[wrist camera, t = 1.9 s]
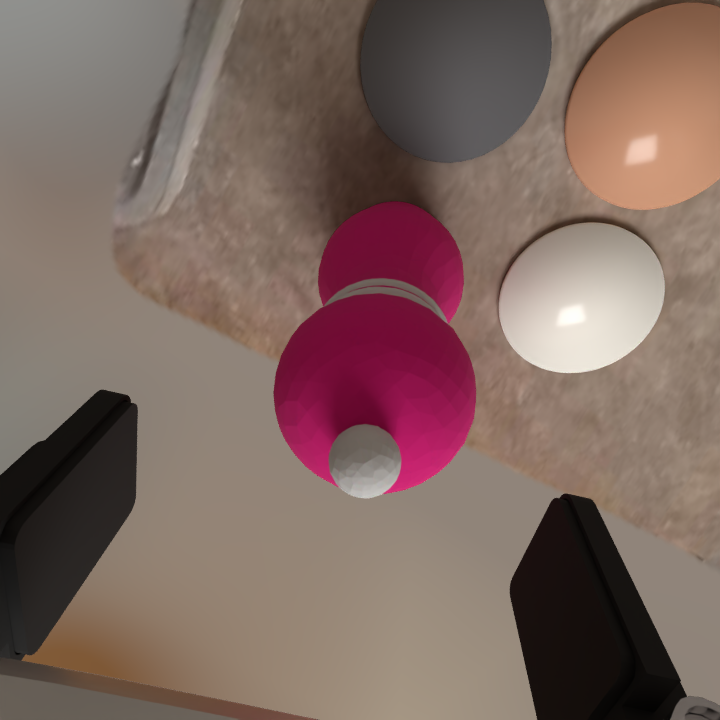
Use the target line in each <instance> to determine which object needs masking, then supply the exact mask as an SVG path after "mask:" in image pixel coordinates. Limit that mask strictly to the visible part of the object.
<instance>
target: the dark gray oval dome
mask: <svg viewBox="0 0 720 720" xmlns="http://www.w3.org/2000/svg"><path fill="white" fill-rule="evenodd" d="M551 45H552V42H551V28H550V23H549V17H548V13H547V10H546V7H545V4H544V1H543V0H377V2H376V4H375V6H374V8H373V10H372V12H371V14H370V17H369V20H368V22H367V25H366V29H365V33H364V36H363V41H362V48H361V64H360V67H361V80H362V85H363V90H364V94H365V97H366V101H367V104H368V106H369V108H370V111H371V113H372V115H373V117H374V119H375V120H376V122H377V123H378V125H379V127H380V128H381V129H382V130H383V132H384V133H385V134H386V135H387V136H388V137H389V138H390V139H391V140H392V141H393V142H394V143H395V144H396V145H398V146H399V147H400V148H402V149H403V150H405V151H406V152H408V153H410V154H412V155H414V156H416V157H419V158H422V159H425V160H429V161H435V162H446V163H451V162H461V161H466V160H470V159H473V158H476V157H479V156H482V155H484V154H486V153H488V152H490V151H492V150H494V149H495V148H497V147H498V146H500V145H501V144H503V143H504V142H505V141H507V140H508V139H509V138H510V137H511V136H512V135H513V134H515V132H516V131H517V130H518V129H519V128H520V127H521V126H522V125H523V124H524V122H525V121H526V119H527V118H528V117H529V115H530V114H531V112H532V111H533V109H534V107H535V105H536V104H537V102H538V100H539V98H540V95H541V93H542V91H543V88H544V86H545V82H546V79H547V75H548V71H549V66H550V60H551Z"/></svg>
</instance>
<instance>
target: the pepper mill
mask: <svg viewBox="0 0 720 720" xmlns="http://www.w3.org/2000/svg"><path fill="white" fill-rule="evenodd" d="M463 285H464V275H463V262H462V258H461V254H460V251H459V249H458V247H457V244H456V242H455V240H454V239H453V237H452V236H451V234H450V233H449V231H448V230H447V229H446V228H445V227H444V226H443V225H442V224H441V223H440V222H439V221H438V220H436V219H435V218H434V217H432V216H431V215H430V214H429V213H428V212H426V211H425V210H423V209H421V208H420V207H418V206H415V205H413V204H409V203H405V202H398V201H390V202H384V203H380V204H376V205H374V206H372V207H369V208H368V209H365V210H362V211H360V212H358V213H357V214H355V215H353V216H351V217H350V218H349V219H347V220H346V221H345V222H343V223H342V224H341V225H340V227H339V228H338V229H337V230H336V231H335V232H334V234H333V235H332V237H331V238H330V239H329V241H328V243H327V246H326V248H325V250H324V253H323V256H322V260H321V263H320V267H319V276H318V286H319V293H320V297H321V300H322V304H323V306H324V307H322V308H320V309H319V310H318V311H316V312H315V313H314V314H313V315H312V316H310V317H309V318H308V319H307V320H306V321H305V322H303V323H302V324H301V325H300V326H299V327H298V329H297V330H296V331H295V333H294V334H293V335H292V337H291V339H290V340H289V342H288V344H287V346H286V348H285V350H284V351H283V353H282V355H281V358H280V362H279V365H278V368H277V371H276V376H275V385H274V403H275V412H276V416H277V420H278V424H279V427H280V429H281V432H282V434H283V437H284V438H285V440H286V442H287V443H288V445H289V447H290V448H291V450H292V451H293V452H294V454H295V455H296V456H297V457H298V458H299V459H300V461H301V462H302V463H303V464H304V465H305V466H306V467H307V468H308V469H310V470H311V471H312V472H313V473H315V474H316V475H317V476H319V477H321V478H323V479H324V480H326V481H328V482H330V483H332V484H333V485H335V486H337V487H339V488H340V489H342V490H343V491H344V492H346V493H347V494H349V495H352V496H354V497H359V498H372V497H375V496H378V495H381V494H386V493H392V492H397V491H402V490H406V489H408V488H411V487H413V486H416V485H418V484H421V483H423V482H424V481H426V480H427V479H429V478H431V477H432V476H434V475H435V474H437V473H438V472H439V471H440V470H442V469H443V468H444V467H445V466H446V465H447V464H448V463H449V462H450V461H451V460H452V459H453V458H454V456H455V455H456V454H457V452H458V451H459V450H460V448H461V447H462V446H463V444H464V443H465V440H466V438H467V435H468V432H469V430H470V427H471V424H472V422H473V419H474V413H475V403H476V383H475V375H474V371H473V367H472V363H471V360H470V358H469V355H468V353H467V351H466V349H465V348H464V346H463V344H462V342H461V341H460V339H459V338H458V336H457V334H456V333H455V331H454V329H453V328H452V327H450V326H449V325H448V323H449V322H450V321H451V319H452V317H453V316H454V314H455V313H456V311H457V308H458V306H459V303H460V301H461V297H462V291H463Z"/></svg>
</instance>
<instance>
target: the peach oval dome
mask: <svg viewBox="0 0 720 720" xmlns="http://www.w3.org/2000/svg"><path fill="white" fill-rule="evenodd" d="M564 132H565V145H566V149H567V154H568V157H569V160H570V163H571V166H572V168H573V170H574V171H575V173H576V175H577V177H578V178H579V179H580V181H581V182H582V183H583V185H584V186H586V187H587V188H588V189H589V190H590V191H591V192H592V193H593V194H595V195H596V196H598V197H599V198H601V199H603V200H605V201H607V202H609V203H611V204H614V205H617V206H620V207H623V208H629V209H641V210H647V209H658V208H662V207H667V206H671V205H674V204H677V203H680V202H682V201H685V200H687V199H689V198H691V197H693V196H695V195H697V194H698V193H700V192H702V191H704V190H705V189H707V188H708V187H709V186H711V185H712V184H713V183H715V182H716V181H717V180H718V179H720V7H717V6H714V5H711V4H704V3H679V4H672V5H668V6H665V7H661V8H658V9H655V10H653V11H650V12H648V13H646V14H643V15H641V16H639V17H637V18H635V19H634V20H632V21H630V22H628V23H627V24H625V25H624V26H623V27H621V28H620V29H618V30H617V31H616V32H614V33H613V34H612V35H611V36H610V37H609V38H608V39H607V40H606V41H605V42H603V43H602V45H601V46H600V47H599V48H598V49H597V50H596V51H595V53H594V54H593V55H592V56H591V58H590V59H589V61H588V62H587V63H586V65H585V66H584V68H583V70H582V72H581V73H580V75H579V77H578V79H577V81H576V83H575V86H574V88H573V90H572V93H571V96H570V99H569V103H568V106H567V112H566V117H565V131H564Z"/></svg>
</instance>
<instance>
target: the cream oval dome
mask: <svg viewBox="0 0 720 720" xmlns="http://www.w3.org/2000/svg"><path fill="white" fill-rule="evenodd" d="M664 293H665V282H664V275H663V271H662V268H661V265H660V262H659V260H658V258H657V256H656V255H655V253H654V252H653V251H652V249H651V248H650V247H649V246H648V245H647V244H646V243H645V242H644V241H643V240H642V239H640V238H639V237H638V236H636V235H635V234H633V233H631V232H629V231H627V230H625V229H623V228H621V227H618V226H615V225H612V224H606V223H597V222H587V223H577V224H572V225H568V226H565V227H562V228H559V229H556V230H554V231H552V232H550V233H547V234H545V235H544V236H542V237H541V238H539V239H537V240H536V241H535V242H533V243H532V244H531V245H530V246H528V247H527V248H526V249H525V250H524V251H523V252H522V253H521V254H520V255H519V256H518V258H517V259H516V260H515V261H514V263H513V264H512V266H511V267H510V269H509V271H508V272H507V274H506V277H505V279H504V281H503V284H502V287H501V291H500V296H499V318H500V322H501V326H502V329H503V332H504V334H505V336H506V338H507V340H508V342H509V343H510V345H511V346H512V347H513V349H514V350H515V351H516V352H517V353H518V354H519V355H520V356H522V357H523V358H524V359H525V360H527V361H528V362H530V363H532V364H533V365H536V366H538V367H540V368H543V369H546V370H549V371H554V372H561V373H580V372H586V371H591V370H595V369H599V368H602V367H604V366H607V365H609V364H611V363H613V362H615V361H617V360H619V359H621V358H622V357H624V356H625V355H627V354H628V353H629V352H631V351H632V350H633V349H634V348H636V347H637V346H638V345H639V344H640V343H641V342H642V341H643V340H644V338H645V337H646V336H647V335H648V333H649V332H650V331H651V329H652V328H653V326H654V324H655V323H656V321H657V318H658V316H659V314H660V311H661V308H662V305H663V300H664Z"/></svg>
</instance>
